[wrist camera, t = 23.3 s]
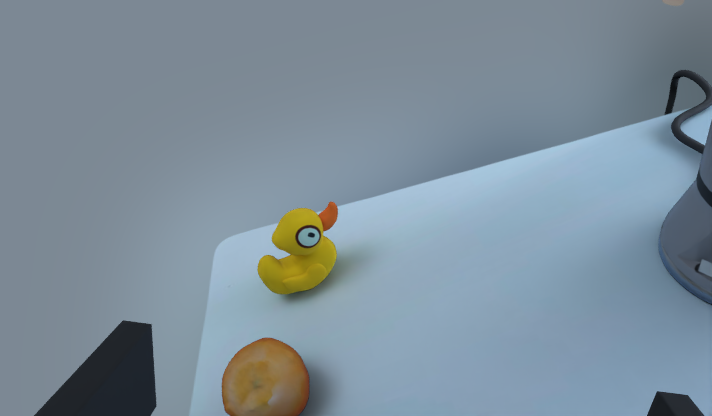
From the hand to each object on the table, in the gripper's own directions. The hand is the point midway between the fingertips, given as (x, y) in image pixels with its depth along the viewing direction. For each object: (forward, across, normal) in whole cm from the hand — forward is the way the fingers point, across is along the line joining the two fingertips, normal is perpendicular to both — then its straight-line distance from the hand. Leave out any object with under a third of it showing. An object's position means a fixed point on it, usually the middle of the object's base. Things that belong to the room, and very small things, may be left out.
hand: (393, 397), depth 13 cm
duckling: (+41, -7, -20) cm, 46 cm away
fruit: (+27, -8, -26) cm, 38 cm away
